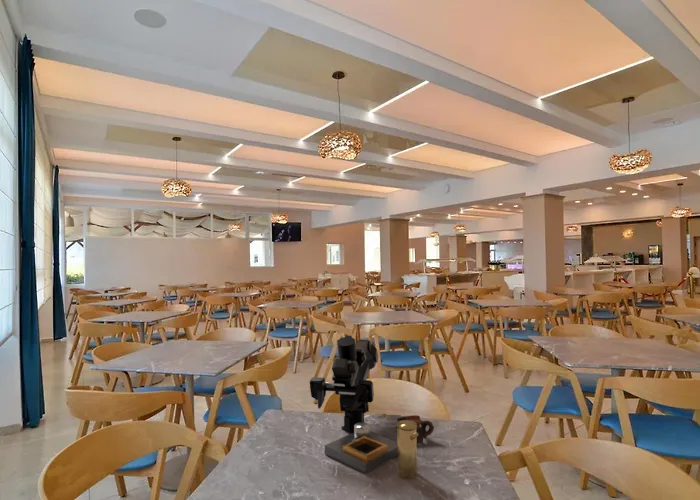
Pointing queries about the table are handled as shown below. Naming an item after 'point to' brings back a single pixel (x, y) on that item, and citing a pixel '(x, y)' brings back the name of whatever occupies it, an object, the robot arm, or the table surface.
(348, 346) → the robot arm
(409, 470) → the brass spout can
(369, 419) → the table surface
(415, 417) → the pottery mug
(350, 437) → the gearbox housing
